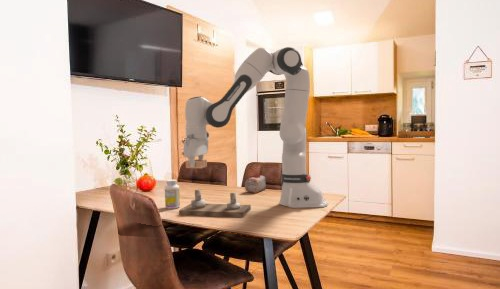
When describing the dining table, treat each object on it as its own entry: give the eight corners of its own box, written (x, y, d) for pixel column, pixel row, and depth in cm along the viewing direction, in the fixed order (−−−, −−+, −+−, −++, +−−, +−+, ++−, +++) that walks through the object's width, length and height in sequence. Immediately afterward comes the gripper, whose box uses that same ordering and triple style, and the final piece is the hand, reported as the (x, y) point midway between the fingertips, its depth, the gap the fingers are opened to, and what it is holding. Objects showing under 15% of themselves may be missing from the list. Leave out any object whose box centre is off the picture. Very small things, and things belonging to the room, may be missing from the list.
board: (250, 209, 160) (250, 188, 159) (243, 217, 146) (242, 194, 145) (191, 207, 166) (191, 187, 165) (179, 215, 152) (178, 192, 152)
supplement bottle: (173, 205, 172) (172, 178, 171) (182, 207, 167) (182, 179, 167) (162, 208, 166) (161, 180, 166) (171, 209, 162) (170, 181, 161)
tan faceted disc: (206, 166, 159) (206, 159, 159) (201, 168, 152) (201, 161, 152) (192, 166, 161) (191, 159, 161) (185, 168, 154) (185, 161, 154)
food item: (257, 194, 195) (256, 176, 195) (244, 193, 199) (243, 175, 198) (267, 189, 208) (266, 172, 207) (254, 189, 211) (254, 172, 210)
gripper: (193, 134, 145) (194, 169, 146) (210, 133, 165) (211, 163, 166) (179, 135, 146) (180, 168, 147) (197, 133, 166) (198, 163, 167)
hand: (196, 165), depth 157 cm, fingers closed on tan faceted disc, 7 cm apart
